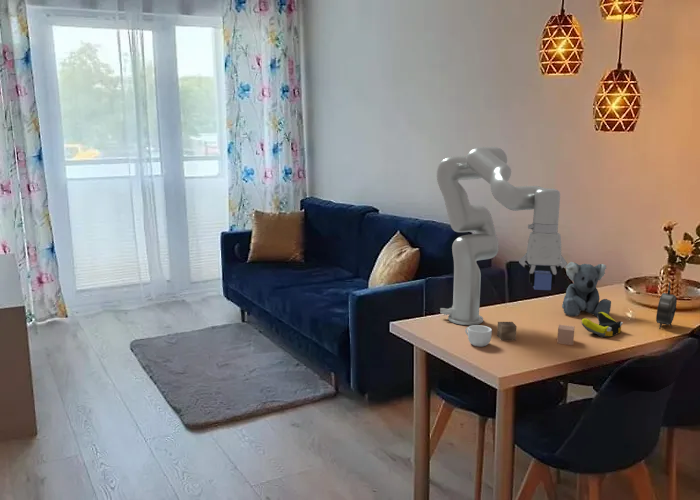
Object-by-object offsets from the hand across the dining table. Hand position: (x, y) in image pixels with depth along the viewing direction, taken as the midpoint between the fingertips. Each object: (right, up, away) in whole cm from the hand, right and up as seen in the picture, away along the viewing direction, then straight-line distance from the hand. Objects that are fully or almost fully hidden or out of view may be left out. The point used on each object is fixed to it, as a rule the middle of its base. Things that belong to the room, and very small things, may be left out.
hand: (541, 285), depth 207 cm
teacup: (-19, -20, +8) cm, 29 cm away
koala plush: (+29, -13, +47) cm, 56 cm away
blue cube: (0, -1, 0) cm, 1 cm away
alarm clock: (+52, -17, +28) cm, 62 cm away
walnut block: (-8, -19, +14) cm, 24 cm away
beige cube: (+11, -19, +10) cm, 25 cm away
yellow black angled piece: (+27, -18, +21) cm, 39 cm away
